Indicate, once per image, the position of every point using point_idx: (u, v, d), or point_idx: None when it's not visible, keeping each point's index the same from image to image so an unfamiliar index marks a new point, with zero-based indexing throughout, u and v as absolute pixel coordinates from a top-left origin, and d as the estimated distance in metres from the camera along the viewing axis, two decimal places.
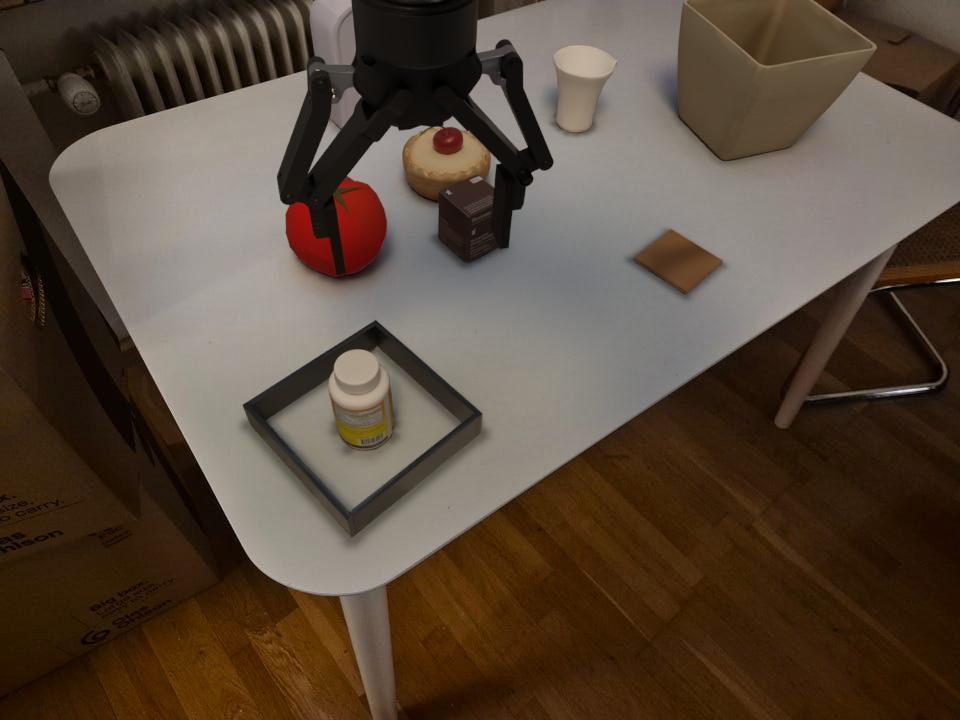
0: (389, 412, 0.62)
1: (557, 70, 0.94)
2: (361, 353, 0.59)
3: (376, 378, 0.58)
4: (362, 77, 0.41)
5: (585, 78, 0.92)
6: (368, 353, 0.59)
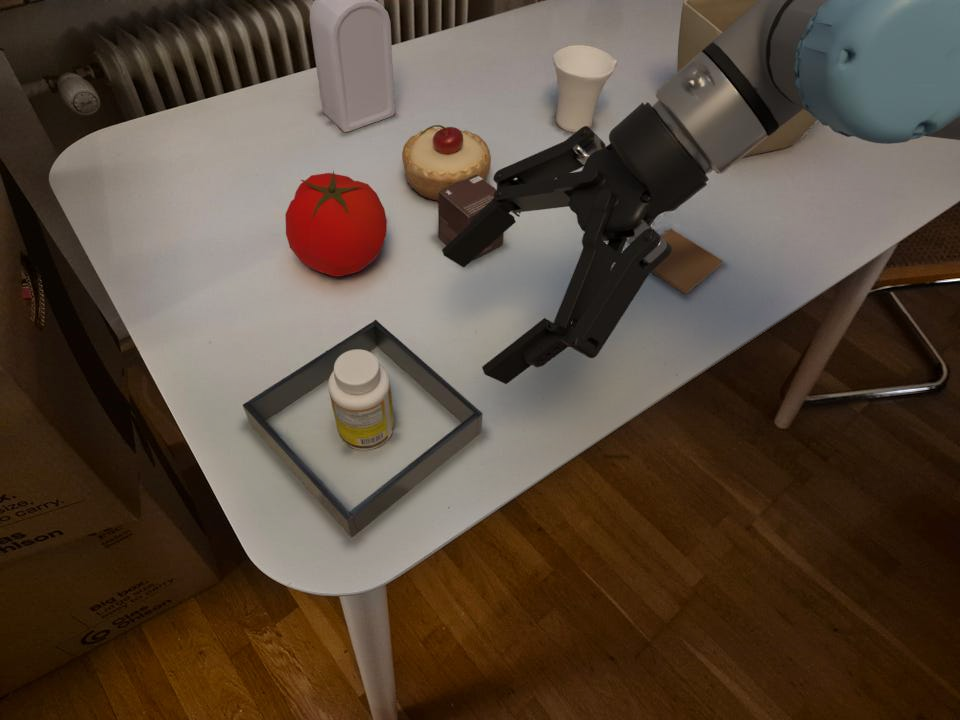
0: (389, 412, 0.62)
1: (557, 70, 0.94)
2: (361, 353, 0.59)
3: (376, 378, 0.58)
4: None
5: (585, 78, 0.92)
6: (368, 353, 0.59)
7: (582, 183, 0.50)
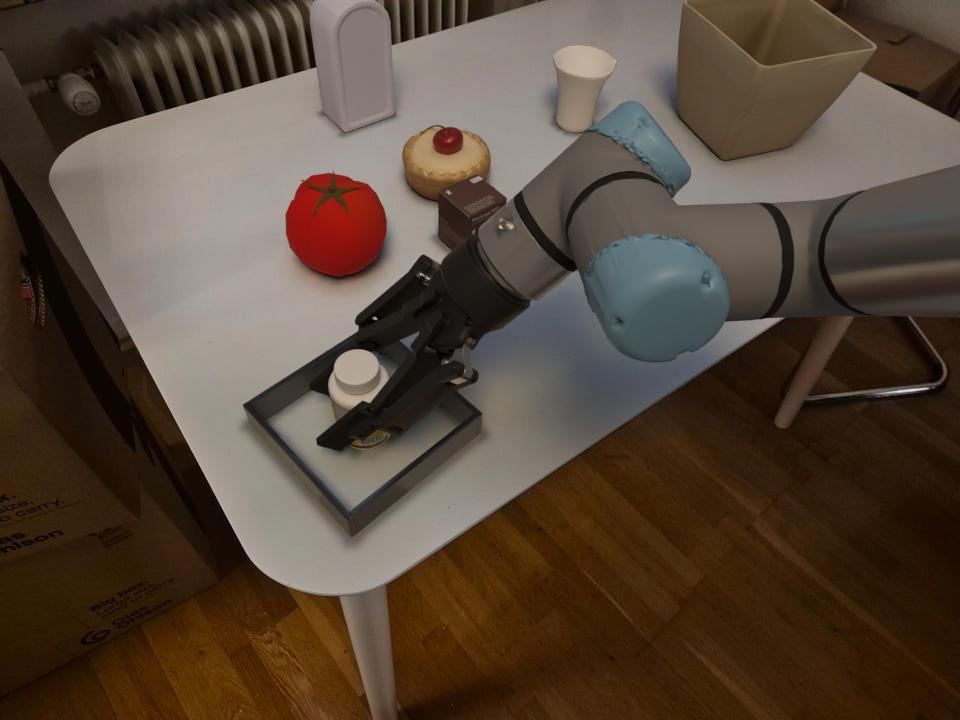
0: None
1: (557, 70, 0.94)
2: (361, 353, 0.59)
3: (376, 378, 0.58)
4: None
5: (585, 78, 0.92)
6: (368, 353, 0.59)
7: (424, 303, 0.56)
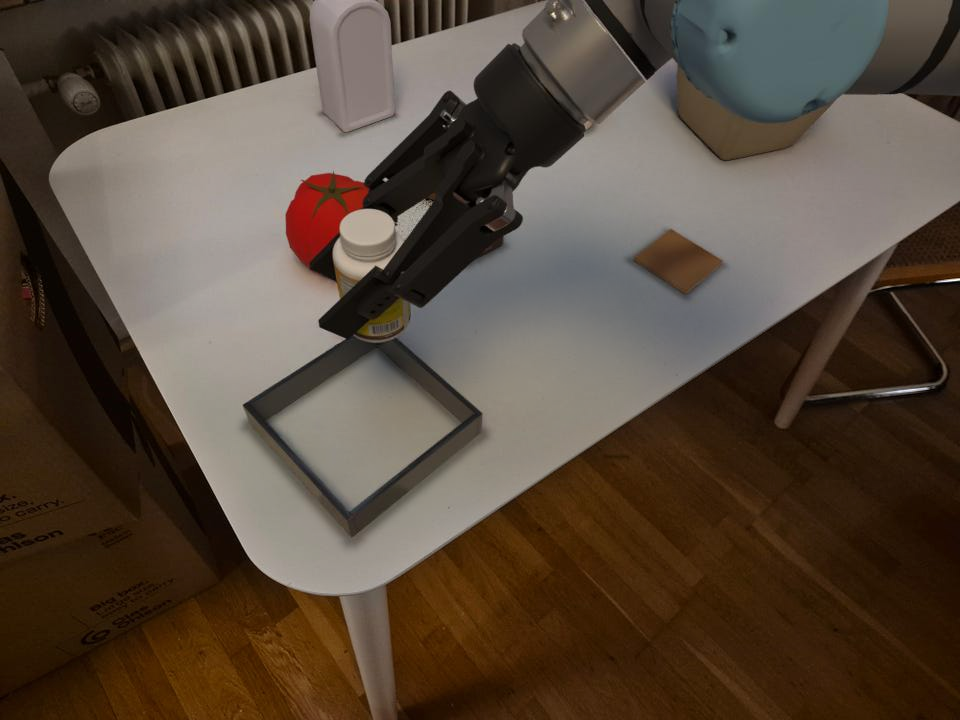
0: None
1: None
2: (373, 212, 0.48)
3: (391, 241, 0.48)
4: None
5: None
6: (381, 213, 0.48)
7: (452, 139, 0.45)
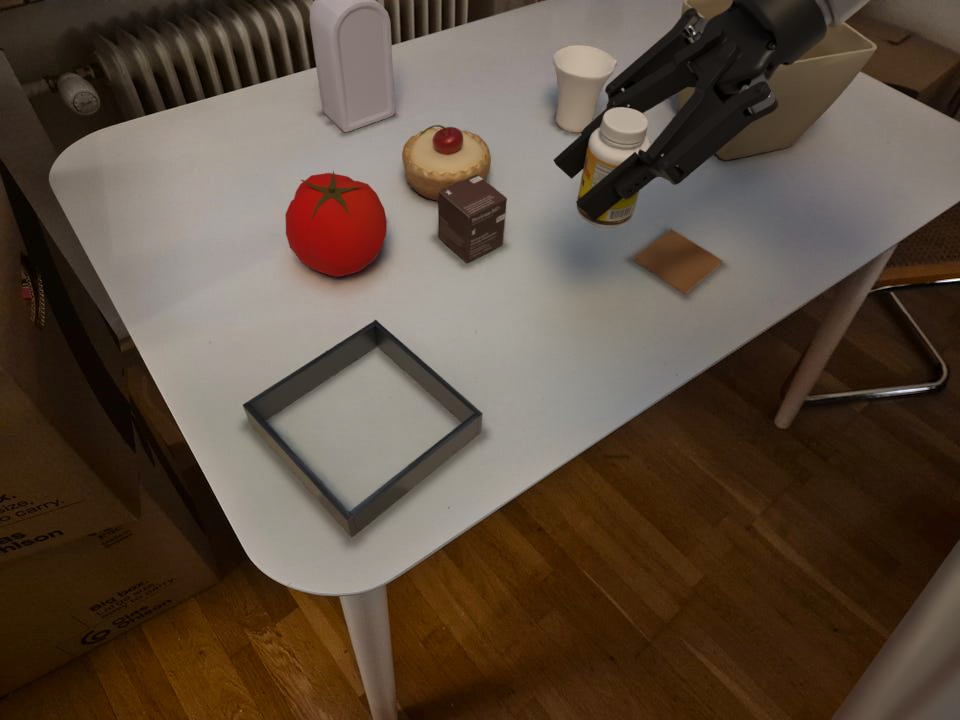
0: None
1: (557, 70, 0.94)
2: (627, 109, 0.58)
3: (646, 131, 0.57)
4: None
5: (585, 78, 0.92)
6: (633, 110, 0.58)
7: (708, 43, 0.55)
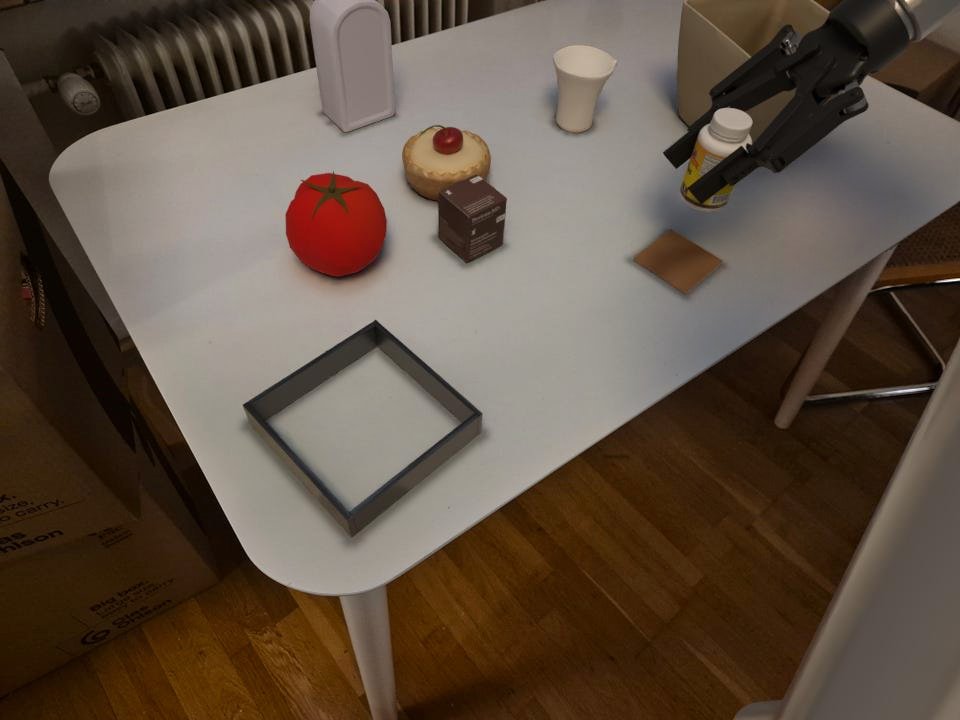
0: None
1: (557, 70, 0.94)
2: (733, 110, 0.69)
3: (750, 128, 0.68)
4: None
5: (585, 78, 0.92)
6: (738, 110, 0.69)
7: (806, 54, 0.65)
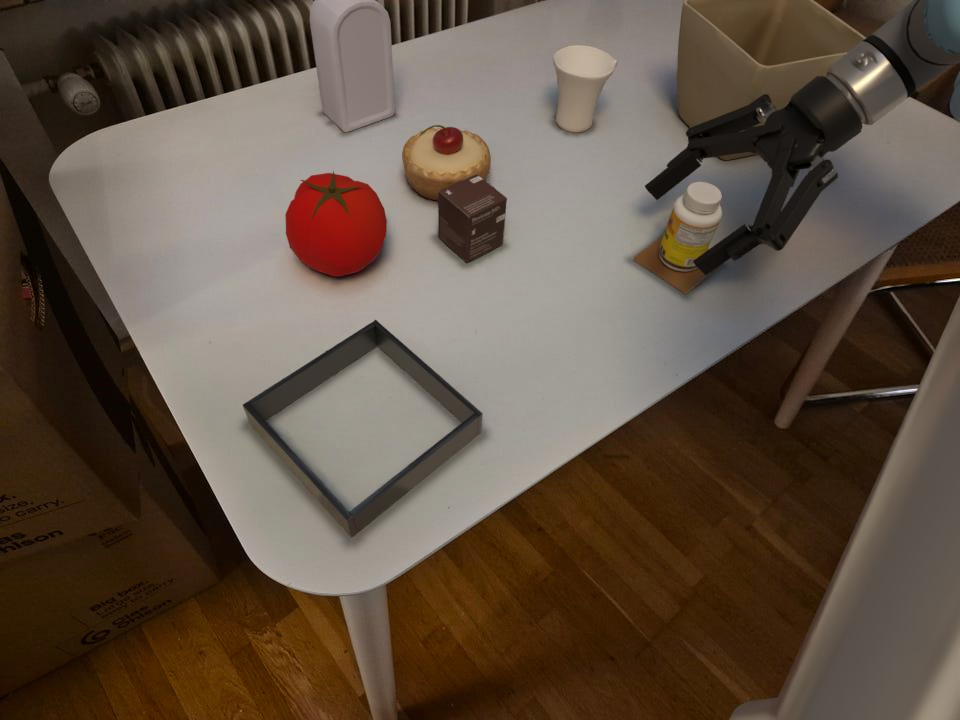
0: None
1: (557, 70, 0.94)
2: (704, 184, 0.76)
3: None
4: None
5: (585, 78, 0.92)
6: (709, 184, 0.76)
7: (768, 132, 0.73)
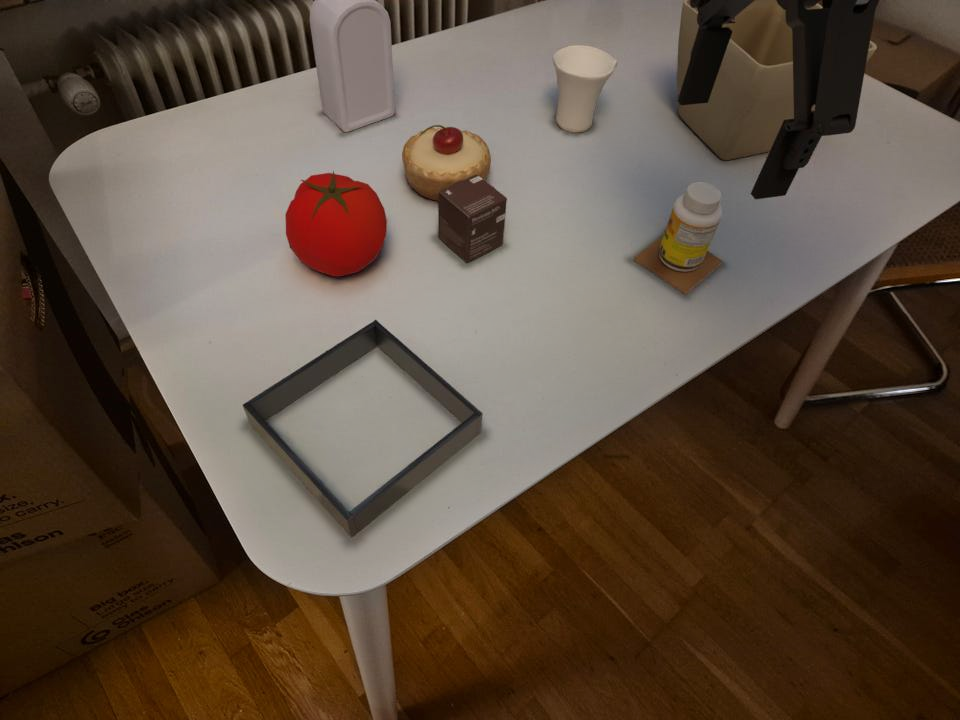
0: None
1: (557, 70, 0.94)
2: (704, 184, 0.76)
3: None
4: None
5: (585, 78, 0.92)
6: (709, 184, 0.76)
7: None
